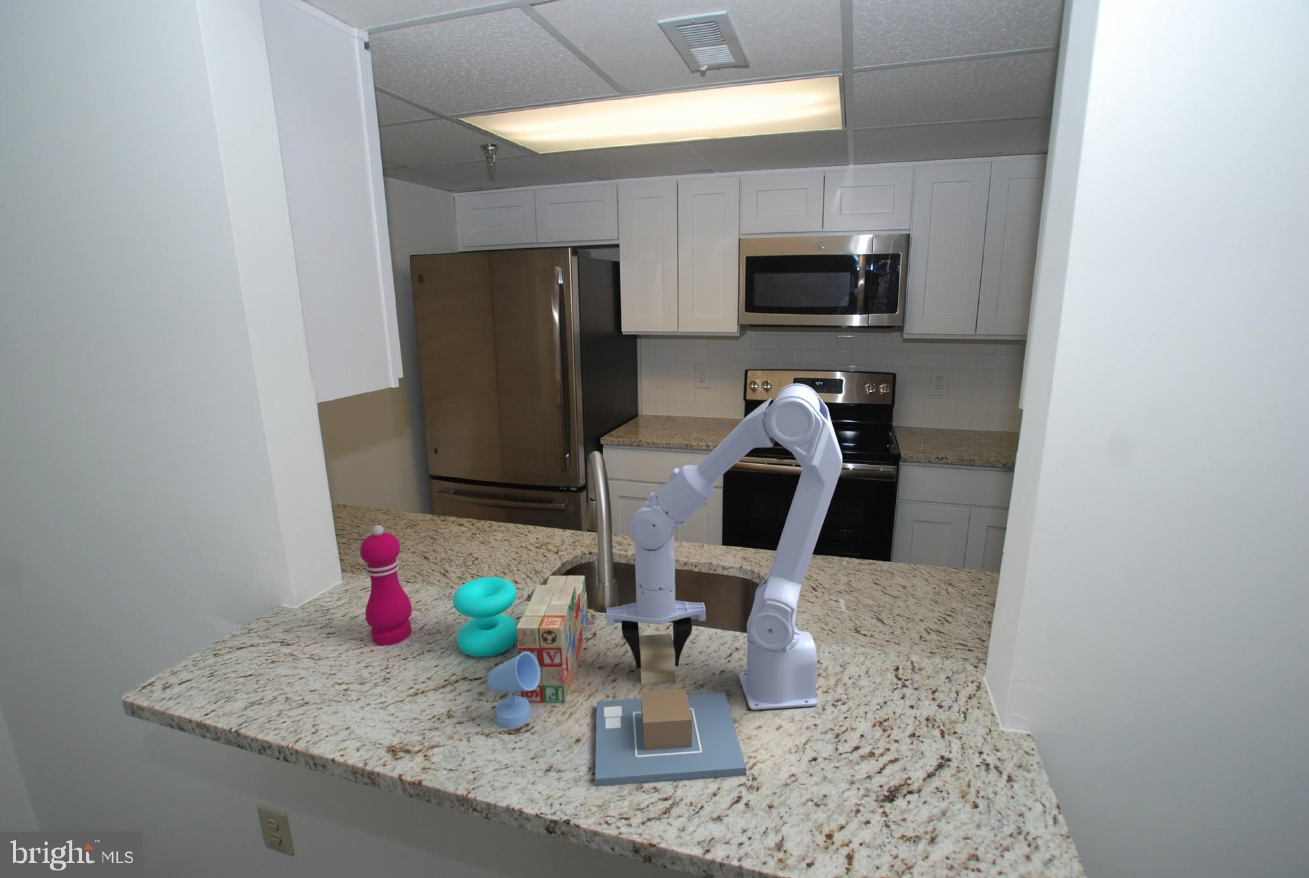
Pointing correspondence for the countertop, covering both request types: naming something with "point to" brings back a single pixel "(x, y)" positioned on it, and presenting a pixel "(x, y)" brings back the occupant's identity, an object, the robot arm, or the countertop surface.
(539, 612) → the stack of blocks
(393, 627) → the pepper mill
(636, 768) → the blueprint board
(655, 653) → the maple block
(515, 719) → the spotlight
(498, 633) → the donuts
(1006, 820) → the countertop surface
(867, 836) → the countertop surface
